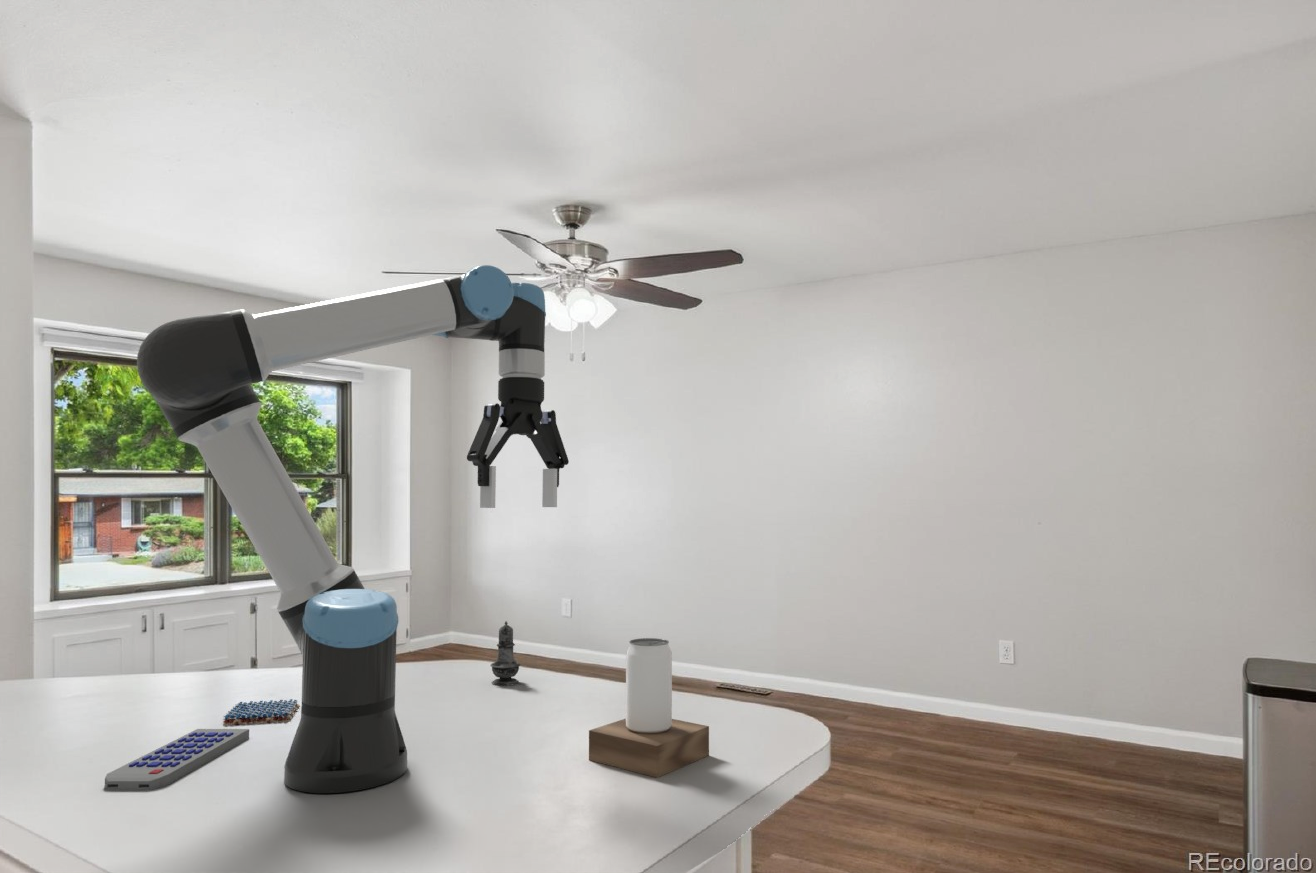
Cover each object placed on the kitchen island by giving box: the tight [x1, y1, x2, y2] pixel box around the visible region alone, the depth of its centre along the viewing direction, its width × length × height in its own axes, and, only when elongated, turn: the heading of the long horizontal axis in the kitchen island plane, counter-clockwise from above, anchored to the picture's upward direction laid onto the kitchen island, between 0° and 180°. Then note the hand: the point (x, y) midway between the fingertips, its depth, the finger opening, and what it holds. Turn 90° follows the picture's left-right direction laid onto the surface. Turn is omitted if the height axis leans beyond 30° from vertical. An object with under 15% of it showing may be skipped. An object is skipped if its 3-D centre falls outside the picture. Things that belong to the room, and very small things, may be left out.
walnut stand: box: [588, 718, 710, 778], centre depth 117 cm, size 12×12×4 cm
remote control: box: [104, 728, 250, 791], centre depth 115 cm, size 8×23×2 cm, turn 0°
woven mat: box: [222, 699, 301, 726], centre depth 139 cm, size 10×11×2 cm
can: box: [625, 637, 673, 734], centre depth 117 cm, size 6×6×12 cm
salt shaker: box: [490, 620, 522, 687], centre depth 164 cm, size 6×6×12 cm
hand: (519, 507), depth 135 cm, fingers open, 13 cm apart
